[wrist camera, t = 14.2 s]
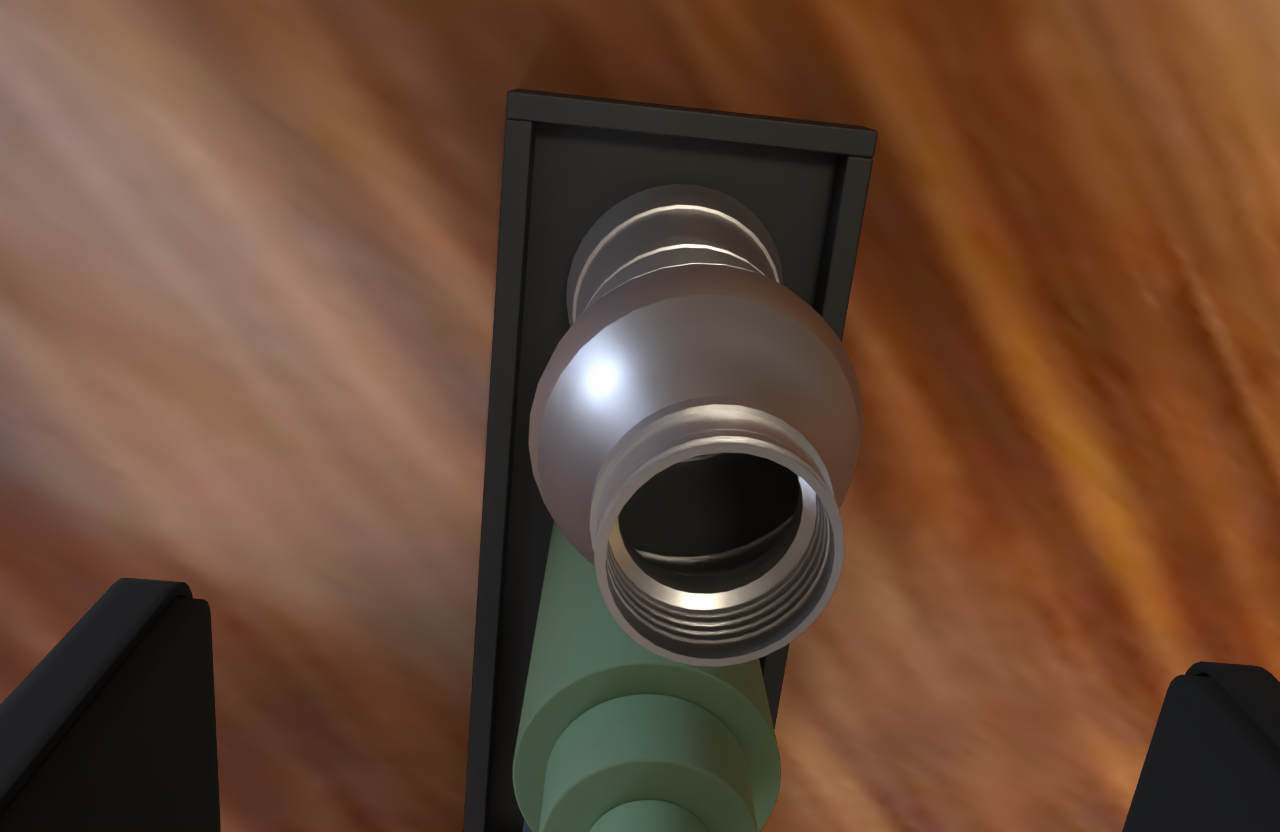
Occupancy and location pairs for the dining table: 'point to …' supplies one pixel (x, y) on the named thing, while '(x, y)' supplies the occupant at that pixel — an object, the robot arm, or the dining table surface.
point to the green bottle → (634, 725)
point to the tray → (538, 319)
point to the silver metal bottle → (697, 430)
